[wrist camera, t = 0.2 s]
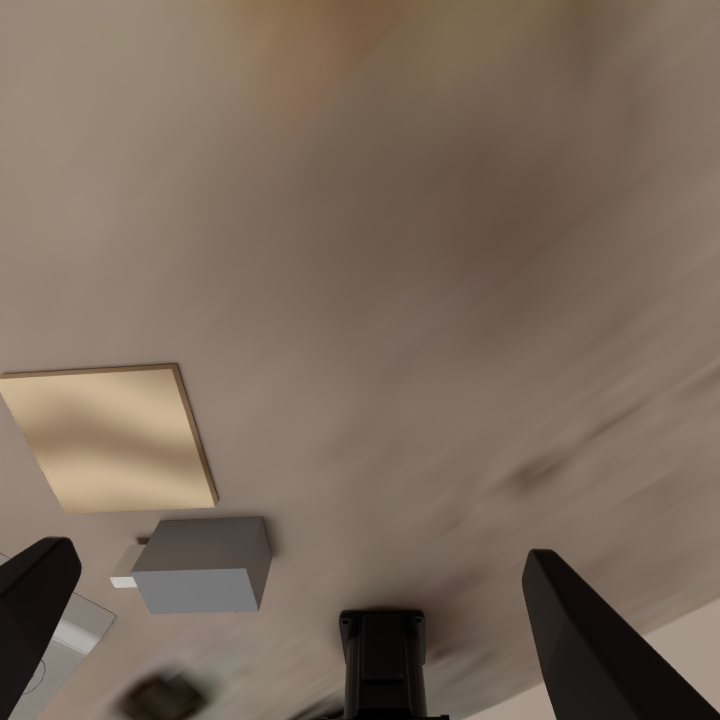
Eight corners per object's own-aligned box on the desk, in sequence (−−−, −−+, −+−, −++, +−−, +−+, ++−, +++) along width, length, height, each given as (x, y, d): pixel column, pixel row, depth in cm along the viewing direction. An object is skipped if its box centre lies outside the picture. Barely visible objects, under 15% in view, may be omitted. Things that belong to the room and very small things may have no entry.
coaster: (218, 500, 27) (215, 507, 26) (71, 506, 27) (65, 513, 27) (176, 363, 22) (171, 369, 22) (2, 374, 23) (-7, 379, 22)
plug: (262, 515, 28) (272, 555, 29) (128, 520, 28) (146, 559, 30) (245, 568, 24) (258, 611, 26) (93, 573, 24) (115, 614, 26)
